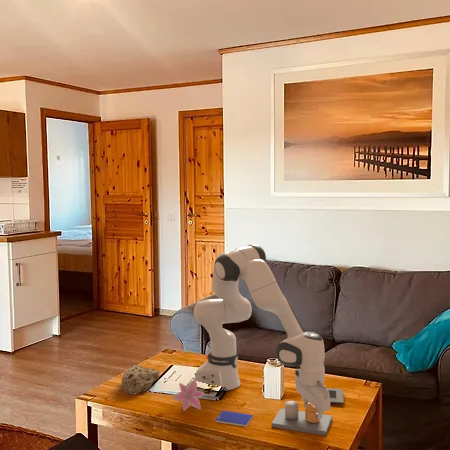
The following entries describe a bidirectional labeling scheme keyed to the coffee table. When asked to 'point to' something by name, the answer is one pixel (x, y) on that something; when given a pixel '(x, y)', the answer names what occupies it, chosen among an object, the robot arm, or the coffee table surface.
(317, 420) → the orange rounded cylinder
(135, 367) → the rock
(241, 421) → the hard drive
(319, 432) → the plate
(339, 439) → the coffee table surface
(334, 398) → the electrical outlet
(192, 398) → the lily
